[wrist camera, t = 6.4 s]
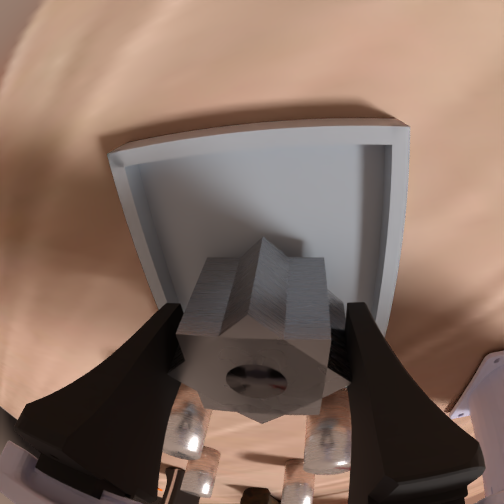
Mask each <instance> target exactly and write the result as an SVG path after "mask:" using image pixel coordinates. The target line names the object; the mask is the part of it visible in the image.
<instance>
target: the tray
mask: <svg viewBox="0 0 504 504" xmlns="http://www.w3.org/2000/svg"><path fill="white" fill-rule="evenodd" d="M409 155H410V126H408V125H406V124H405V123H403V122H402V121H400V120H398V119H392V118H324V119H301V120H285V121H271V122H260V123H249V124H240V125H231V126H223V127H215V128H207V129H200V130H194V131H187V132H181V133H175V134H169V135H164V136H158V137H153V138H148V139H143V140H138V141H133V142H128V143H125V144H123V145H122V146H120V147H118V148H116V149H115V150H113V151H111V152H109V153H108V154H107V156H108V160H109V164H110V167H111V171H112V175H113V178H114V182H115V185H116V189H117V192H118V195H119V199H120V202H121V205H122V209H123V212H124V215H125V218H126V221H127V224H128V227H129V230H130V233H131V236H132V239H133V242H134V245H135V248H136V251H137V254H138V257H139V259H140V262H141V265H142V268H143V271H144V273H145V276H146V279H147V281H148V284H149V287H150V289H151V292H152V294H153V297H154V299H155V302H156V304H157V307H158V309H160V308H161V307H162V306H163V305H165V304H166V303H180V304H181V306H182V309H183V312H185V309H186V307H187V304H188V302H189V300H190V297H191V295H192V292H193V290H194V287H195V285H196V283H197V280H198V278H199V276H200V273H201V271H202V268H203V266H204V264H205V261H206V259H207V257H241V256H242V255H243V254H244V253H246V252H247V251H248V250H249V249H250V248H251V247H252V246H253V245H254V244H255V243H256V242H257V241H258V240H259V239H260V238H261V237H262V236H263V237H265V238H266V239H267V240H268V241H270V242H271V243H272V244H273V245H275V246H276V247H277V248H278V249H279V250H281V251H282V252H283V253H284V254H286V255H287V256H288V257H324V261H325V270H326V280H327V289H328V290H329V291H331V292H332V293H333V294H334V295H335V296H337V297H338V298H339V299H340V300H341V301H343V303H344V310H345V318H346V310H347V303H350V302H365V303H366V304H367V306H368V309H369V311H370V313H371V315H372V317H373V319H374V320H375V322H376V324H377V326H378V328H379V329H380V331H381V333H382V335H383V336H384V338H385V335H386V331H387V326H388V322H389V317H390V312H391V307H392V302H393V297H394V291H395V286H396V280H397V274H398V268H399V261H400V255H401V247H402V240H403V232H404V223H405V213H406V203H407V191H408V176H409ZM344 388H347V386H346V387H344Z"/></svg>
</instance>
